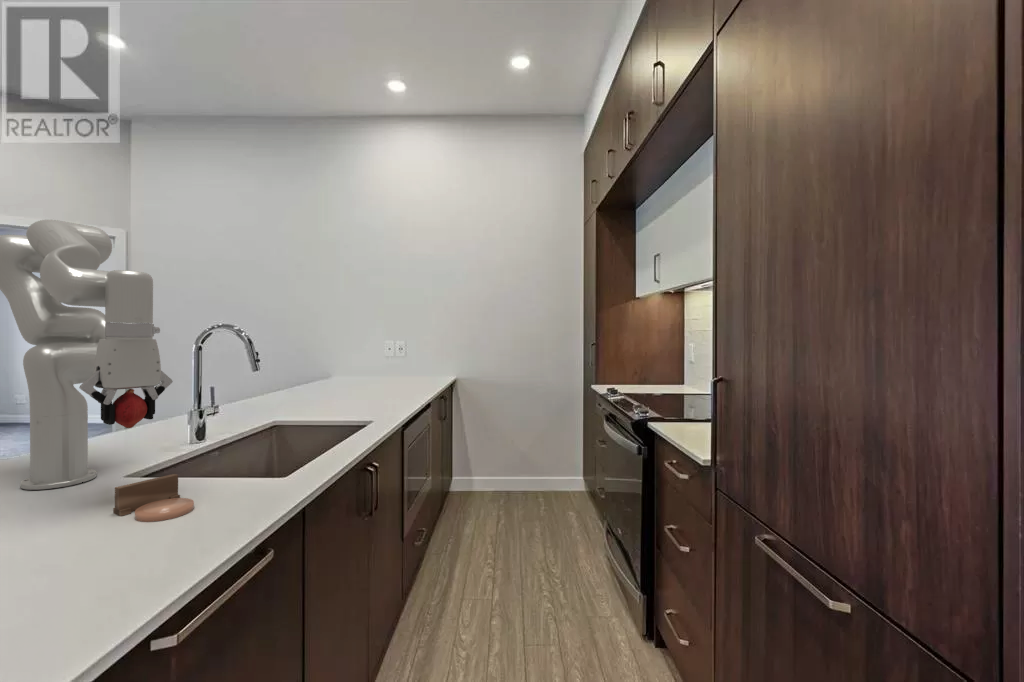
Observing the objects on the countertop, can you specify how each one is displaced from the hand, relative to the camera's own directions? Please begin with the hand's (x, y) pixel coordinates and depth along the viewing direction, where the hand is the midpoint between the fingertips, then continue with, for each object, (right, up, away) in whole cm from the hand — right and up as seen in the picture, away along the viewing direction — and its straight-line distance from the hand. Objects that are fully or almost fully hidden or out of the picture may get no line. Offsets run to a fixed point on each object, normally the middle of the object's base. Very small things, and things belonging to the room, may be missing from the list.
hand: (128, 420), depth 96 cm
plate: (+12, -16, -7) cm, 21 cm away
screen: (+6, -16, -3) cm, 18 cm away
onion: (0, -2, 0) cm, 2 cm away
